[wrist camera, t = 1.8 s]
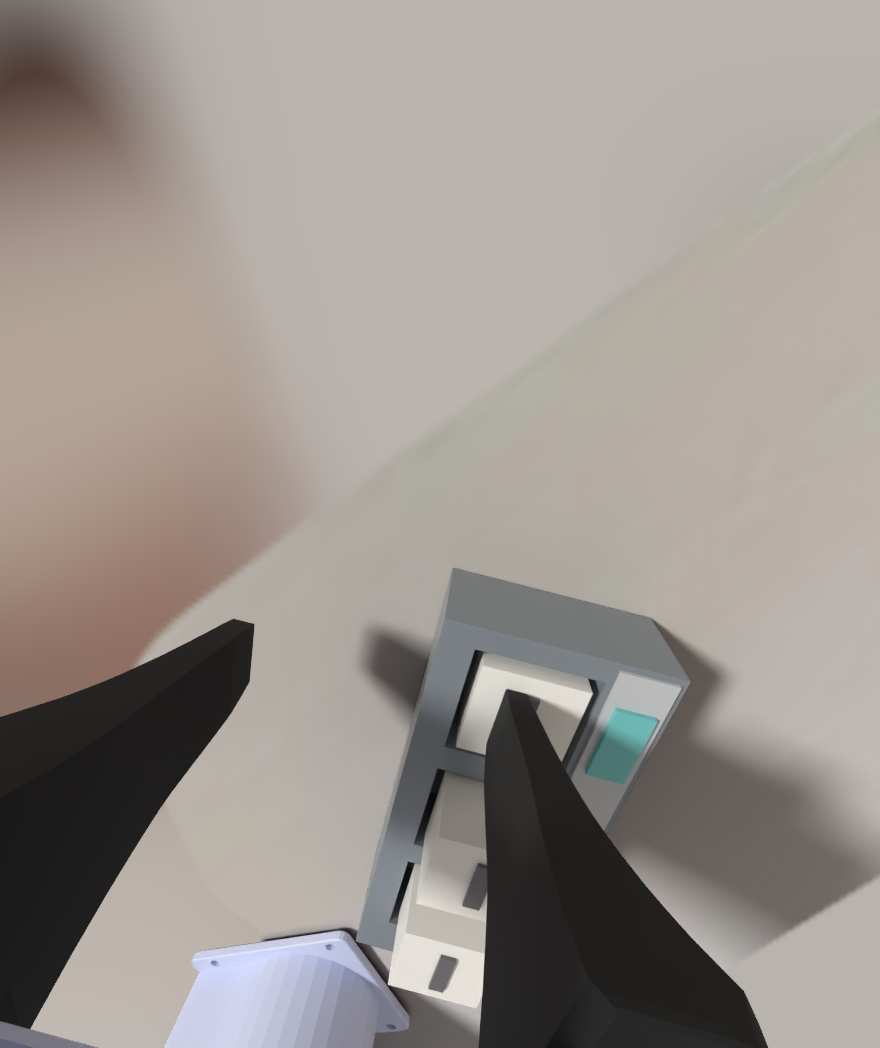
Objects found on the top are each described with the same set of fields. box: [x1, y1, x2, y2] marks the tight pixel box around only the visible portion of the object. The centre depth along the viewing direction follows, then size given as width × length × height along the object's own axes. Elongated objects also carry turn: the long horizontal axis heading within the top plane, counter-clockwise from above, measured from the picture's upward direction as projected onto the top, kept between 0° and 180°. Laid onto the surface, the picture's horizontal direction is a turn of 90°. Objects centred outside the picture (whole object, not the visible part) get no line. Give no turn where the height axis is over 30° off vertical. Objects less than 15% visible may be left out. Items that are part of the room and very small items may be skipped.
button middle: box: [416, 770, 487, 922], centre depth 13 cm, size 3×3×2 cm
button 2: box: [456, 649, 593, 762], centre depth 13 cm, size 3×3×2 cm
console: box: [356, 568, 691, 951], centre depth 15 cm, size 15×7×3 cm, turn 167°
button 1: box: [388, 863, 486, 1008], centre depth 15 cm, size 3×3×2 cm
